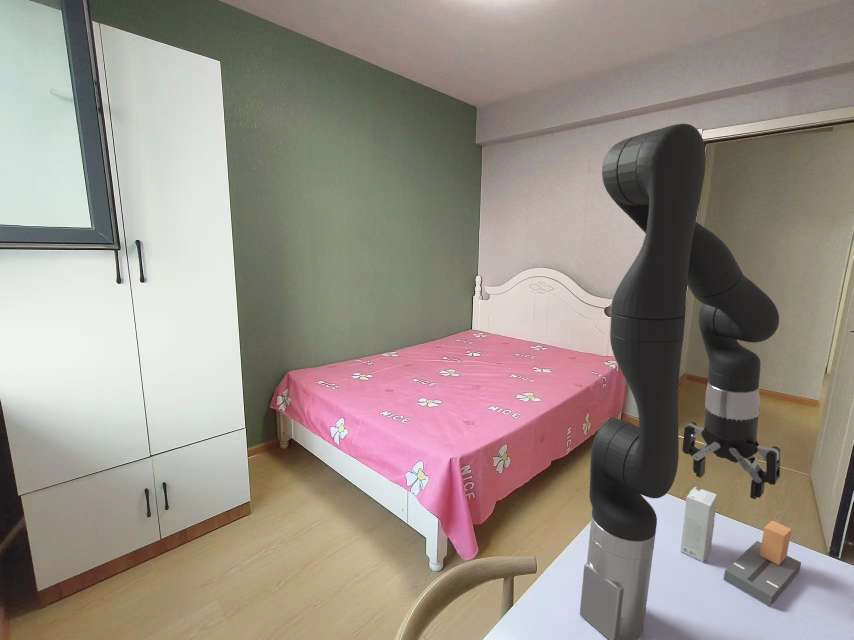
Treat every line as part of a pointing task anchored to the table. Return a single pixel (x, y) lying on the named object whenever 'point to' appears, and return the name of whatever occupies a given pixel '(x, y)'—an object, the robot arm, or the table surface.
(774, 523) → the fader tab
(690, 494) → the skincare box
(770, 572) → the fader console
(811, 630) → the table surface
